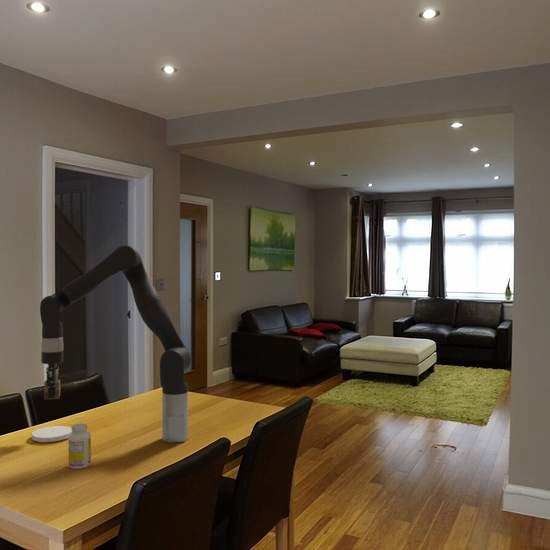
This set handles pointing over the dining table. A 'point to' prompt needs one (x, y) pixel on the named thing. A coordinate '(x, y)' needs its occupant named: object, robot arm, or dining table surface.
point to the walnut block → (57, 390)
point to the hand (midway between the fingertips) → (52, 395)
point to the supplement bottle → (79, 447)
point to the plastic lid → (51, 433)
